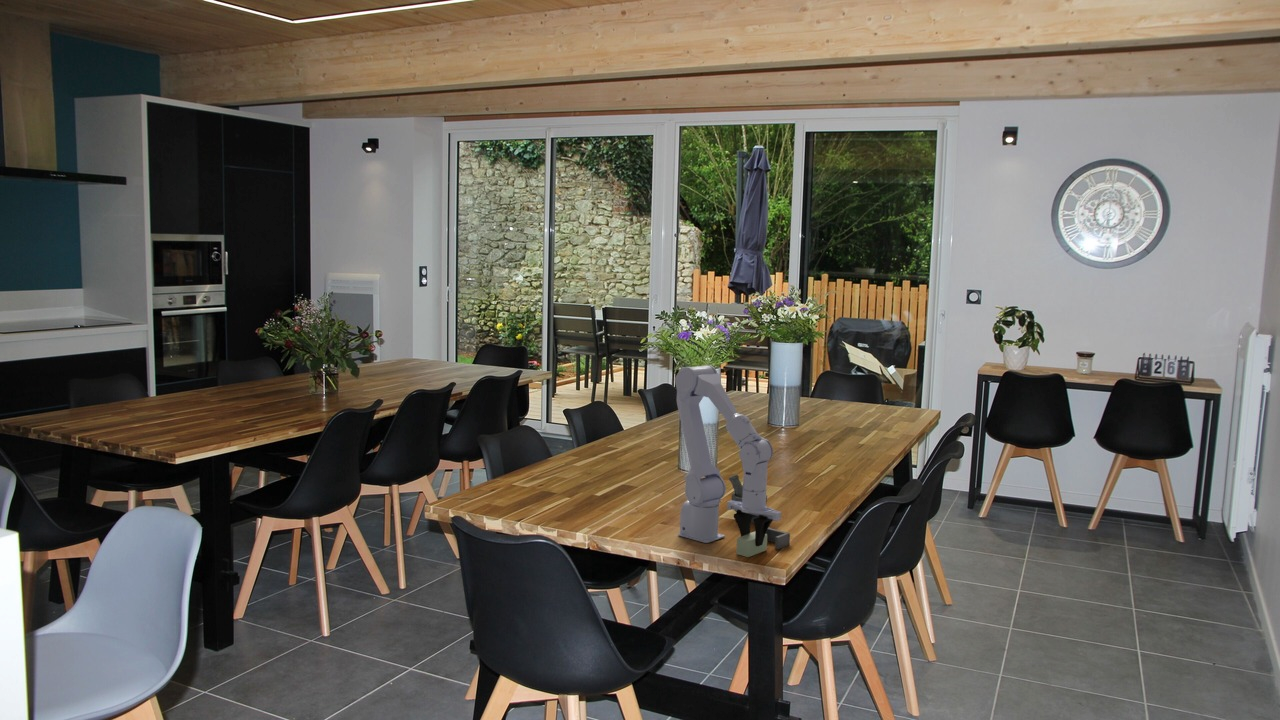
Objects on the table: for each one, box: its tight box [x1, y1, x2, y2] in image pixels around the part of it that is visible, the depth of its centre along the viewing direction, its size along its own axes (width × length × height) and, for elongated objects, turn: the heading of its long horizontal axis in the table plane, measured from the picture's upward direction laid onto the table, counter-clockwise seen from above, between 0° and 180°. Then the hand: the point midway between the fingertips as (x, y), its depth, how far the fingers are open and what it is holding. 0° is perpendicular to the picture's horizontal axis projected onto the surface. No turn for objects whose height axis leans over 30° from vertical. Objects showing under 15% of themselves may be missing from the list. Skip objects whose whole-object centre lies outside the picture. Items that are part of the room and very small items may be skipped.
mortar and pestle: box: [728, 474, 768, 524], centre depth 258 cm, size 11×9×12 cm
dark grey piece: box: [766, 527, 791, 550], centre depth 237 cm, size 7×6×3 cm
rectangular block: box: [735, 531, 768, 558], centre depth 230 cm, size 8×4×4 cm, turn 139°
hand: (752, 543), depth 230 cm, fingers closed on rectangular block, 3 cm apart
